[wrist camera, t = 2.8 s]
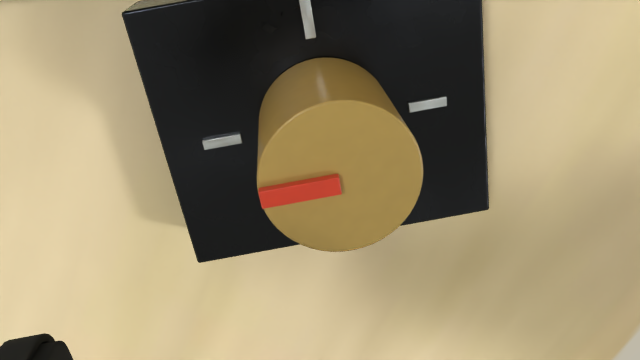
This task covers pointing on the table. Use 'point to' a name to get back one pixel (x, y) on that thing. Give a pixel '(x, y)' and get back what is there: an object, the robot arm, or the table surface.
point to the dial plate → (278, 56)
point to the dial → (335, 157)
